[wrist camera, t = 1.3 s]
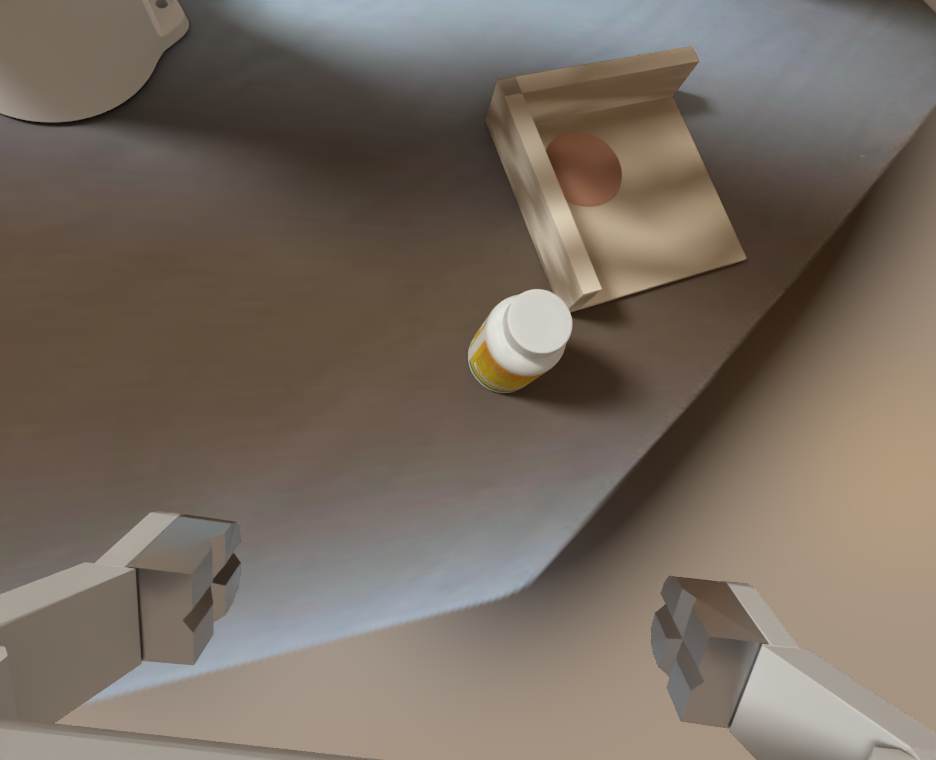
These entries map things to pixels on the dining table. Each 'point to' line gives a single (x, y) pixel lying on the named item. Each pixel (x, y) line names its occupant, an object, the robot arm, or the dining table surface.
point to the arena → (610, 177)
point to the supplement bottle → (520, 340)
